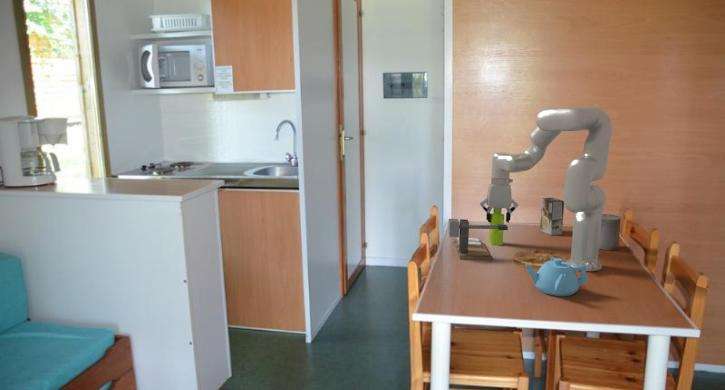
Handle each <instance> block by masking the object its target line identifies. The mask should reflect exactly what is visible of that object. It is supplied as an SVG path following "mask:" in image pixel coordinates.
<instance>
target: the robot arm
mask: <svg viewBox="0 0 725 390" xmlns="http://www.w3.org/2000/svg"><path fill="white" fill-rule="evenodd" d="M535 124H536V126H535V127H534V128H533V130H532V131H530V133H529V139H530V141H531V142H532V143H531V144H530V146H529V147H528V148H527V149H526V150H525V151H524V152H523V153H521V152H520V153H514V154H510V153H507V152H495V153H493V154H492V156H491V157H492V160H491V178H490V181H491V182H490V183H488V188H487V193H486V198H485V199H484V200H482V201H481V202H480V203H479V205H480V206H481V208H482V209H483V210H484V212H485V213H486V215H485V216H486V217H485V218H486V221H487V222H488V223H490V219H491V211H492V209H494V208H502V209H506V211H507V212H506V214H505V215H506V216H505V223H507V224H509V223H510V221H511V216H512V215H511V214H512V213H513V212H514V211H515V210H516V209H518V206H519V204H518V203H517V202H516V201H515V200H514V199H513V198H512V196H513V195H512V187H511V183H513V182H514V179H512V178H511V177H510V176H511V175H510V174H511V173H512V174H513V173H520V172H526V171H529V170H531V169H532V168H534V167H535V166H536V165H537V164H539V162H540V161H541V160H542V159H543V158H544V156H545V154H546V152H547V149H548V148H547V147H548V146H549V145H550V144H552V142H553V141H554V140H555V139H556V138H557V137H558V136H559V135H560V134H561V133H562V132H581V131H587V132H588V134H587V135H586V138H585V140H584V143H583V150H582V154H581V156H578V157H576V158H574V159H573V160H571V161H570V162H569V164H568V166H567V168H566V173H565V180H564V185H563V186H564V187H563V196H562V197H563V198H562V199H563V200H562V201H564V208H566V209H567V211H569V212H571V213H573V214H574V217H573V223H572V224H573V226H572V238H571V249H570V258H569V259H567V260H566V261H565V262H566V263H568V264H570V265H571V266H582V265H584V267H585V270H586V272H596V271H601V270H602V266H603V265H602V264H601V263H600V262H598V261H599V250H600V249H599V240H600V229H601V220H602V214H604V213H603V212H604V209H605V205H606V193H605V190H604V189H603V188H602V187H601V186H600V185H597V184H595V183H592V182H596V181H597V182H598V181H599V180H602V179H603V178H604V177H605V175H606V174H607V173H606V172H607V167H608V160H609V152H610V146H611V145H610V143H611V139H612V133H613V122H612V120H611V118H610V115H608V113H607V112H606V111H605V110H603V109H601V108H599V107H596V106H595V107H594V106H576V107H575V106H571V107H546V108H544V109H542V110H540V111H539V112H538V114H537V116H536V119H535ZM485 204H486V206H487V207H486V206H485ZM512 204H513V206H512Z"/></svg>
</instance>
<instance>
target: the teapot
mask: <svg viewBox="0 0 725 390" xmlns="http://www.w3.org/2000/svg"><path fill="white" fill-rule="evenodd" d="M525 266H526V269H527V271H528V273H529V275H530V277H531V280H532V281H533V283H534V285H535V286H536V287H535V288H537V289H538V290H539V292H541V293H543V294H546V295H549V296H556V297H570V296H572V295H574V294H575V293H576V292H577V291H579V288H580V287H581V286H582V285H584V284H585V283H587V282H588V281H589V278H588V274H587V271H586V270H585V267H584V265H582V266H571V265H570V264H568V263H566V261H563V259H562V258H556V257H553V256H552V257H551V260H547V261H545V262H544V263H543V264H542V265H541V266H540V268H539V269H538V271H537V272H535V270H534V268H533V267H532V265H531V263H529V264H525ZM578 271H579V272H580V275H581V276H580V277H579V278H578V276H577V273H576V272H578Z"/></svg>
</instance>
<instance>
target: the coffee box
mask: <svg viewBox="0 0 725 390" xmlns="http://www.w3.org/2000/svg"><path fill="white" fill-rule="evenodd" d="M564 210H565V205H564V201H563V200H562V199H558V198H555V197H543V198H541V209H540V211H541V212H540V222H539V223H540V225H539V226H540V227H539V231H540V232H542V233H545V234H547V235H550V236H559V235H562V234H563V224H564V213H565V211H564Z"/></svg>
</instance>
